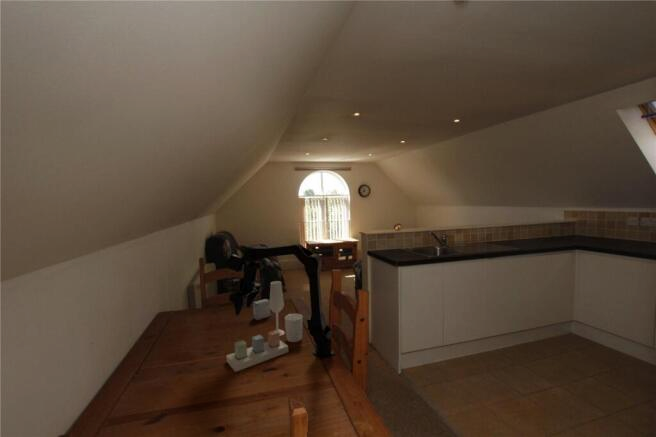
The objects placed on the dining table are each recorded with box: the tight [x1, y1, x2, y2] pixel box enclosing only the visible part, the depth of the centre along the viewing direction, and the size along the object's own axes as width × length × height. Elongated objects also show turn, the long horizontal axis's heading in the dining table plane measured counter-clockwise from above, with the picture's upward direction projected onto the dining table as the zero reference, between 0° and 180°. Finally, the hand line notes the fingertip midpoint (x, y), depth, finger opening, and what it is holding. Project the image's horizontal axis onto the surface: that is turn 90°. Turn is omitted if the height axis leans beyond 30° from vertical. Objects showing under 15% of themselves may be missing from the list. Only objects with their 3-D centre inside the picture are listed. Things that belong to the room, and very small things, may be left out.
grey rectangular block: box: [251, 334, 265, 353], centre depth 116 cm, size 3×3×5 cm
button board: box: [226, 339, 289, 373], centre depth 116 cm, size 9×22×2 cm, turn 128°
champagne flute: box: [269, 280, 286, 337], centre depth 136 cm, size 7×7×24 cm
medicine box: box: [252, 298, 271, 321], centre depth 157 cm, size 8×4×9 cm, turn 133°
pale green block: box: [234, 339, 248, 359], centre depth 111 cm, size 3×3×5 cm
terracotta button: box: [267, 329, 281, 347], centre depth 120 cm, size 3×3×5 cm
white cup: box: [284, 313, 304, 343], centre depth 131 cm, size 8×8×10 cm
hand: (242, 311), depth 123 cm, fingers open, 9 cm apart
